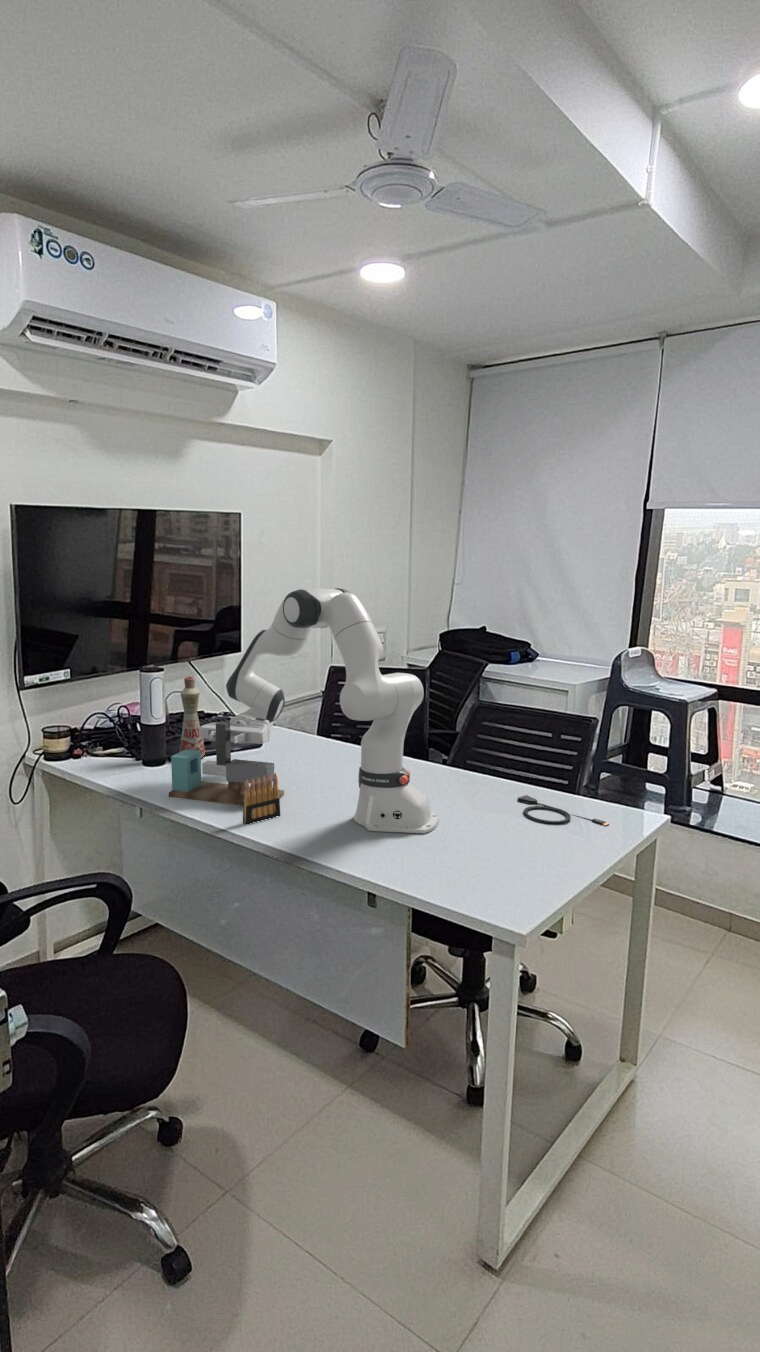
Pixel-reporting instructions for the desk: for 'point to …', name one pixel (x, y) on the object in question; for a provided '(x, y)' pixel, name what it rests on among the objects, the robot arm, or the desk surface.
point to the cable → (530, 800)
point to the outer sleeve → (248, 770)
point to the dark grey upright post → (220, 751)
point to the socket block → (186, 770)
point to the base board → (217, 793)
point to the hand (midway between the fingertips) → (221, 739)
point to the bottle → (191, 718)
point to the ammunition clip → (261, 800)
